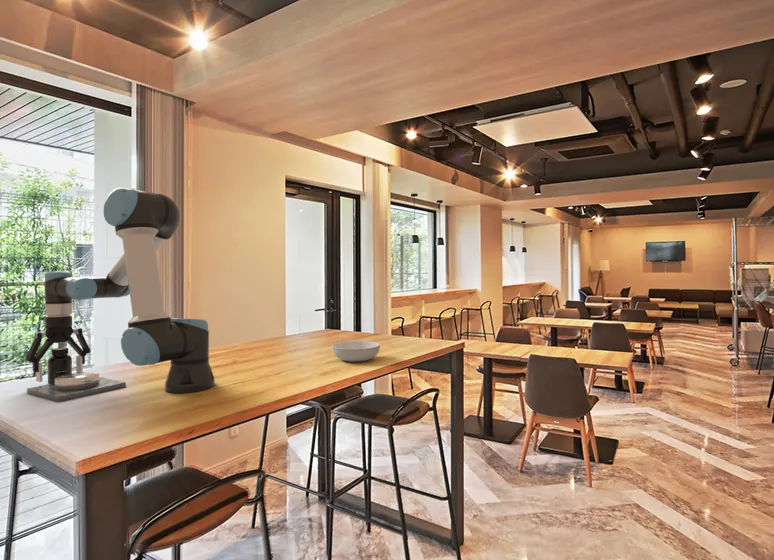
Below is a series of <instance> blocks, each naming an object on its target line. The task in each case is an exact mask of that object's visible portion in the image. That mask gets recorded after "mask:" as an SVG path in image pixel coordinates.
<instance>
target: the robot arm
mask: <svg viewBox="0 0 774 560" xmlns="http://www.w3.org/2000/svg"><path fill="white" fill-rule="evenodd" d="M103 217H104V221H106V223H107V224H108V225H109V226H112V227H114V230H115V231H114V232H115V235H116V236H117V237H119V238H121V240H122V246H123V254H122V255H121V257H119V260H118V261H117V262H116V264H114V266H113V268H112V269H111V270H110V271H109V272H108V274H106V276H77V277H76V276H75V277H74V276H73V277H72V273H71V272H70V271H47V272H46V273H45V274H44V282H43V284H44V300H45V304H44V305H45V307H44V309H45V314H44V315H45V316H46V317H45V319H44V320H45V331H43V332H41V331H36V332H34V335H33V336H34V339H33V342H32V343H31V345H30V348H29V350H28V352H27V355H26V358H25V362H29V363H32V372H33V373H35V382H38V383H42V382H43V362H42V361H41V360H42V359H43V357H44V356H45V355H46V353H47V351H49V349H50V347H52V345H54V344H59V343H67V344H68V345H69V346H70V347H71V348H72V349H73V350H74V351H75V352H76V354H77V355H75V365H76V368H75V369H76V370H75V371H76V372H75V373H82V372H83V365H85V363H86V356H87V354H91V348H90V346H89V344H88V342H87V340H86V339H85V337H84V334H83V333H84V332H83V328H81V327H80V328H79V327H75V328H73V316H72V314H73V300H76V301H77V300H78V301H81V300H84V301H85V300H90V299H105V298H111V299H112V298H121V297H123V298H124V297H127V296H129V298H130V305H131V313H132V317H131V318H130V319H129V321H128V322H127V325H128V326H127V327H128V328H127V329H125V330H124V331H123V333H122V337H121V338H120V346H121V350H122V352H123V354H124V356H125V358H126V360H128V361H129V362H130V363H131V364H133V365H135V366H139V367H141V366H152V365H153V366H154V365H157V364H159V363H164V362H168V361H170V368H169V370H168V374H167V377H166V380H165V382H164V390H165V392H169V393H175V394H176V393H177V394H181V393H182V394H183V393H185V394H186V393H194V392H195V393H196V392H200V391H206V390H208V389H210V388H213V387H215V383H216V382H215V377H214V374H213V371H212V368H211V365H210V361H209V360H210V359H209V358H210V357H209V356H210V355H209V354H210V352H209V350H210V348H209V338H210V336H209V335H210V330H209V323H208V321H207V320H205V319H202V318H201V319H200V318H199V319H198V318H183V317H182V318H180V317H179V318H177V317H171V316H170V315H169V314H167V313H166V312H165V307H164V301H163V300H164V299H163V291H162V286H161V278H160V273H159V272H160V271H159V265H158V258H157V257H158V256H157V250H158V249H159V248H160V247H161V246H162V244H163V243H164V242H165V241H167V240H169V239H171V238H172V237H173V236H174V234H175V233H176V232H177V229H178V228H179V226H180V221H181V212H180V209H179V207H178V205H177V203H176V202H175V201H174V200H173V199H172V198H171V197H169V196H168V195H165V194H162V193H155V192H150V191H145V190H138V189H135V188H126V187H118V188H115V189H114V190H112V191H111V192H110V193H109V194H108V195H107V198H106V199H105V201H104V205H103ZM72 335H75V336H76V338H77V342H79V344H78V343H77V342H76V341H75V339H74V338H73V337H72ZM44 336H45V337H46V340H45V341H44V343H43V344H42V346H41V347H40V345H41V342H42V340H43V339H44ZM79 345H80V346H81V347H80V346H79ZM39 347H40V348H39Z"/></svg>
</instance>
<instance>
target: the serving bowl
mask: <svg viewBox="0 0 774 560" xmlns="http://www.w3.org/2000/svg"><path fill="white" fill-rule="evenodd" d="M331 347H332V348H331V349H332V352H333V354H334V356H335V357H337V358H338V359H340V360H344V361H345V362H350V363H361V362H362V363H363V362H365V361H368V360H371V359H374V358H375V357H376V356H377V355H378V354H379V352H380V349H381V348H380V347H381V344H380V343H379V342H375V341H369V340H346V341H339V342H335V343H333V344H332V345H331Z"/></svg>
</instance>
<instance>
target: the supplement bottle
mask: <svg viewBox="0 0 774 560" xmlns="http://www.w3.org/2000/svg"><path fill="white" fill-rule="evenodd" d="M50 353H51V354H50V355H51V356H50V357H48V359H47V385H48V384H53V383H55V378H56V377H59V376H62V375H67V374H73V357H72V356H71V355H69V348H68V347H58V348H57V347H56V348H52V349H51V352H50Z"/></svg>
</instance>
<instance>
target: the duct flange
mask: <svg viewBox="0 0 774 560" xmlns="http://www.w3.org/2000/svg"><path fill="white" fill-rule="evenodd" d="M122 388H127V383H126V382H125V381H121V380H116V379H111V378H107V377H102V376H100V373H99V372H97V371H95V372H93V371H85V372H82V373H76V372H72V374H67V375H62V376H59V377H56V378H55V383H53V384H48V383H47V384H45V385H44V384H43V385H38V386H33V387H28V388H26V393H27V394H28V393H29V395H32V396H35V395H36V397H39V398H43V399H47V400H50V401H54V402H56V403H59V402H64V401H68V400H73V399H77V398H81V397H82V398H83V397H86V396H90V395H91V396H92V395H94V394H95V395H96V394H99V393H103V392H104V393H105V392H108V391H113V389H114V390H117V389H122Z"/></svg>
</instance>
